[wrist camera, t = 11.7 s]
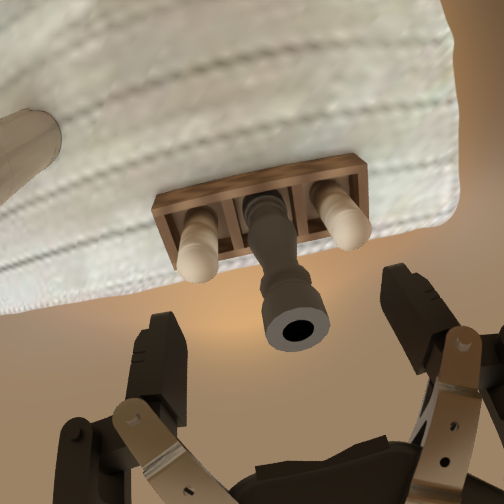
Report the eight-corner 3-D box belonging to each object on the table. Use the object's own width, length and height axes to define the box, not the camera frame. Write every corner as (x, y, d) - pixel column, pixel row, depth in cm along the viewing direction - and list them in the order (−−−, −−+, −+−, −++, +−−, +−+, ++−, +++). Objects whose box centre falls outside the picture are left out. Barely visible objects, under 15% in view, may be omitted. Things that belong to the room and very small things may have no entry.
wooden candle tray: (177, 252, 52) (169, 306, 41) (156, 195, 46) (139, 240, 36) (357, 213, 51) (391, 257, 41) (353, 153, 46) (393, 185, 35)
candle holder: (292, 201, 48) (346, 322, 27) (265, 230, 50) (299, 361, 30) (259, 177, 46) (297, 293, 25) (233, 209, 48) (247, 339, 27)
